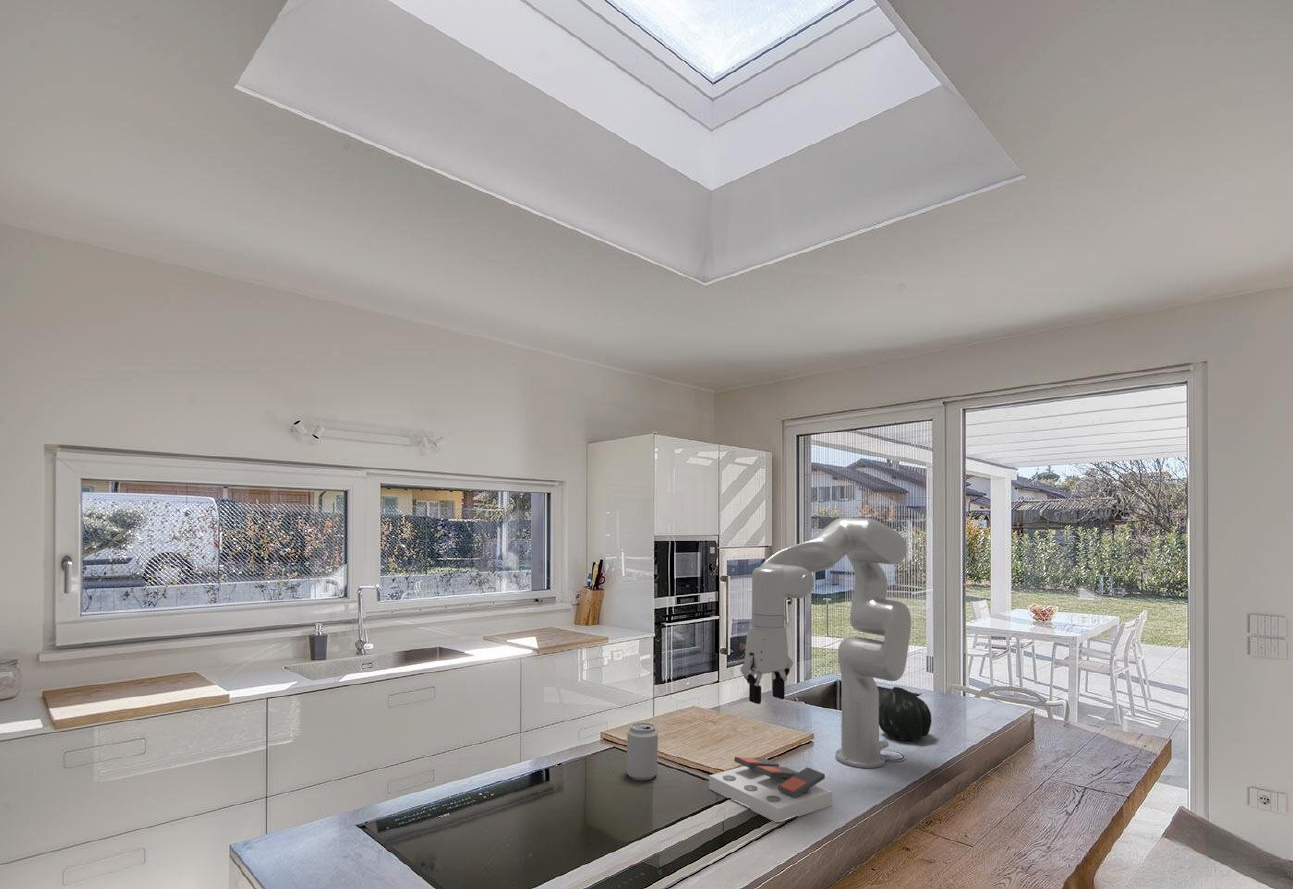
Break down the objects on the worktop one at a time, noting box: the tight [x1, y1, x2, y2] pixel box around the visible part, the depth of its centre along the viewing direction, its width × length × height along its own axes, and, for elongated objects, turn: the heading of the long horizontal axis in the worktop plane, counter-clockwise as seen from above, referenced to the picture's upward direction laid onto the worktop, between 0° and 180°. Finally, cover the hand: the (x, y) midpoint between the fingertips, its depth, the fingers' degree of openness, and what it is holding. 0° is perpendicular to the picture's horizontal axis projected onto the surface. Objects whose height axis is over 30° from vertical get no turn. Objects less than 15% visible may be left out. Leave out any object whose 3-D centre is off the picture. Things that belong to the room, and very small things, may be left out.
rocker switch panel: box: [708, 765, 833, 822], centre depth 167 cm, size 17×22×4 cm
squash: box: [879, 686, 932, 742], centre depth 213 cm, size 14×15×15 cm
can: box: [625, 721, 659, 781], centre depth 178 cm, size 8×8×12 cm
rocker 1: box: [733, 756, 780, 768], centre depth 175 cm, size 10×5×1 cm, turn 126°
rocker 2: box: [777, 766, 826, 797], centre depth 164 cm, size 10×5×1 cm, turn 126°
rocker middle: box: [755, 766, 800, 778], centre depth 169 cm, size 10×5×1 cm, turn 126°
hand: (766, 699), depth 168 cm, fingers open, 6 cm apart
